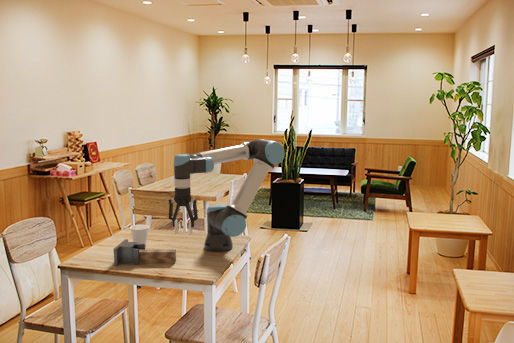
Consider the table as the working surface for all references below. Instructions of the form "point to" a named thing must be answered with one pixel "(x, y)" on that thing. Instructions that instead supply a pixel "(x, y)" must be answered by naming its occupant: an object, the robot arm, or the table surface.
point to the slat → (157, 256)
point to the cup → (139, 233)
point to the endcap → (127, 252)
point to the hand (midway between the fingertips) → (183, 233)
